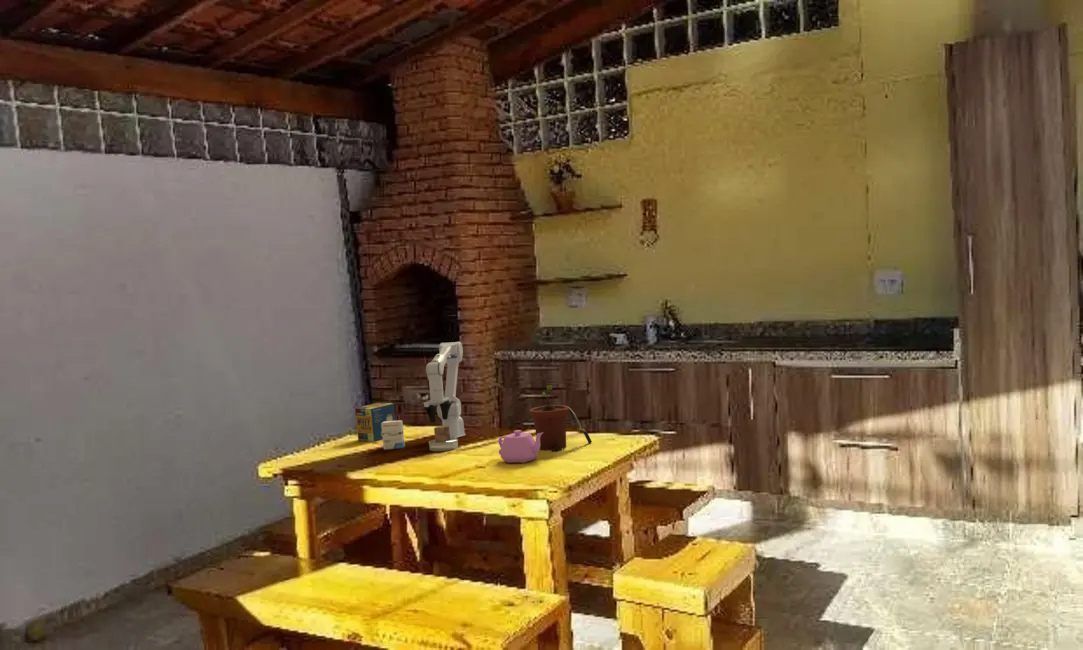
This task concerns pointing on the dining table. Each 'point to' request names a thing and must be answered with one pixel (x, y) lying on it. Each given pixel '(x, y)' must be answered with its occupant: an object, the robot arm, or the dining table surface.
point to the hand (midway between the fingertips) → (439, 420)
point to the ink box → (393, 434)
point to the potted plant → (553, 425)
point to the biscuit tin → (443, 445)
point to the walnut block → (442, 433)
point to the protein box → (373, 420)
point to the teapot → (519, 447)
